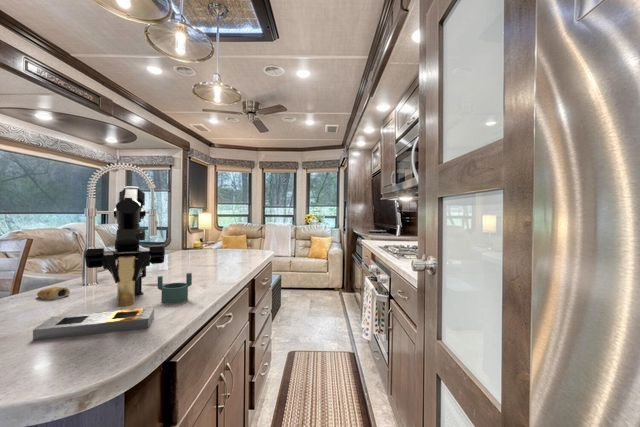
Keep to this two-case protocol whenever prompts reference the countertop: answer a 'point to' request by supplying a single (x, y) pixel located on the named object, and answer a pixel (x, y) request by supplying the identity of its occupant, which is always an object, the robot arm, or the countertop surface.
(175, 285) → the bracket
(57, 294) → the pastry
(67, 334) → the hole rail
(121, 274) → the brass peg
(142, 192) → the robot arm
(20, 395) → the countertop surface
